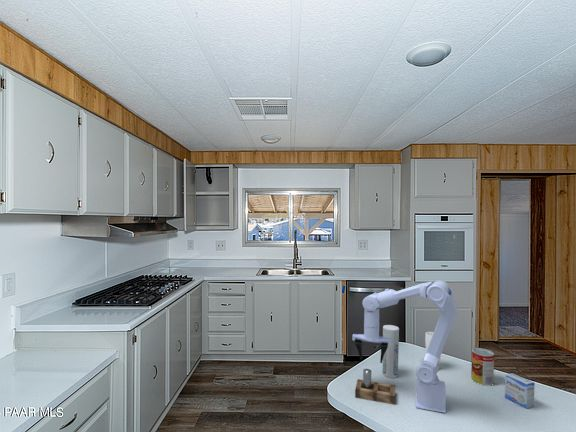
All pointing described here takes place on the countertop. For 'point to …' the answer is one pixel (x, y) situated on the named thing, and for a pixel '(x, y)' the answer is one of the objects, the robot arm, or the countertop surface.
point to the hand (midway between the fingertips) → (371, 360)
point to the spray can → (391, 351)
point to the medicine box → (519, 390)
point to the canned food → (482, 366)
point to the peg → (367, 378)
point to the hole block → (376, 392)
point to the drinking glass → (428, 339)
